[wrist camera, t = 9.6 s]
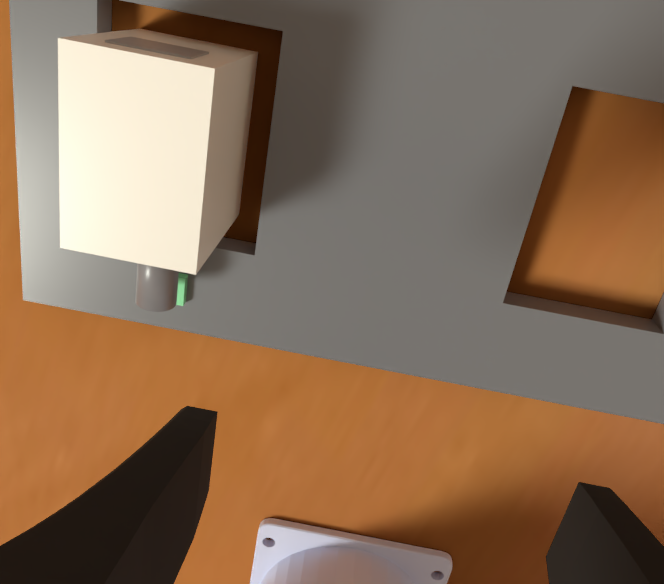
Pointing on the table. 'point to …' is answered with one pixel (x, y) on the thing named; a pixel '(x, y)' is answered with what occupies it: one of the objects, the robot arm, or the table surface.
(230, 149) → the plug
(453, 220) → the jack panel
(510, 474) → the table surface
